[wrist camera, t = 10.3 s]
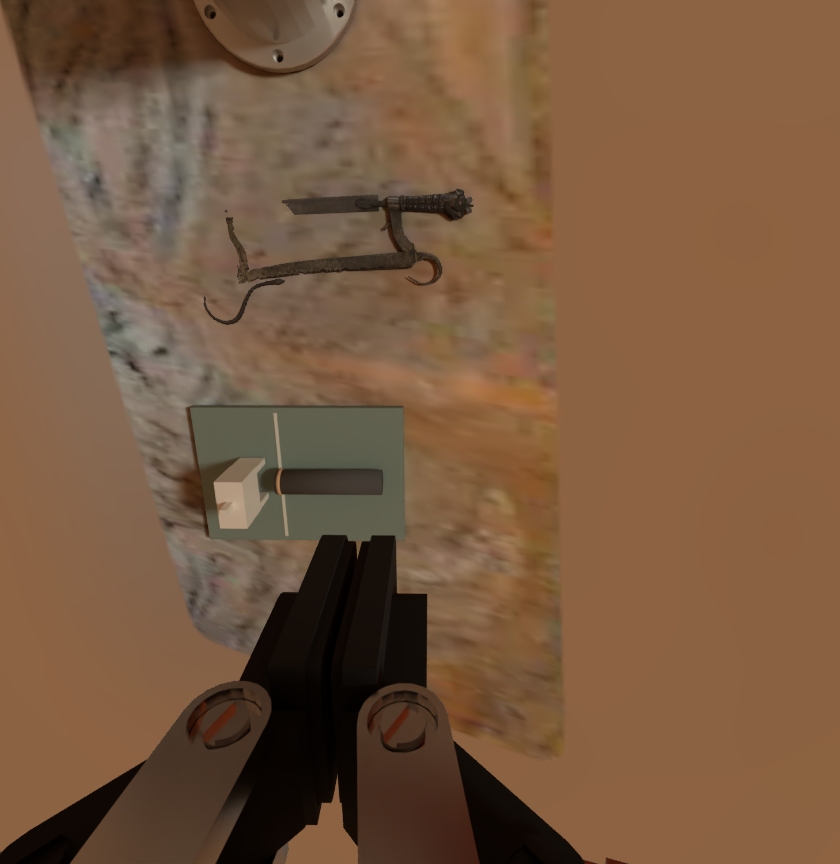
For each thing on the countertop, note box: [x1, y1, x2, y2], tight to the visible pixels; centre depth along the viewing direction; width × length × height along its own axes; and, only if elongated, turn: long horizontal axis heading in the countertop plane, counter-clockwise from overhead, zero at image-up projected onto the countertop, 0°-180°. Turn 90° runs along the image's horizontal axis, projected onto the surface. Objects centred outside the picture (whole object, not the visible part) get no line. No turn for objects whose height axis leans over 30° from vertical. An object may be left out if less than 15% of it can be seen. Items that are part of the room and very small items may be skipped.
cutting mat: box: [190, 405, 405, 541], centre depth 48 cm, size 14×20×1 cm
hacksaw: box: [204, 189, 473, 325], centre depth 42 cm, size 24×10×2 cm, turn 92°
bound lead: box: [274, 469, 383, 495], centre depth 47 cm, size 2×10×2 cm, turn 90°
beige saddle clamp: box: [214, 458, 269, 529], centre depth 44 cm, size 4×2×8 cm, turn 0°
